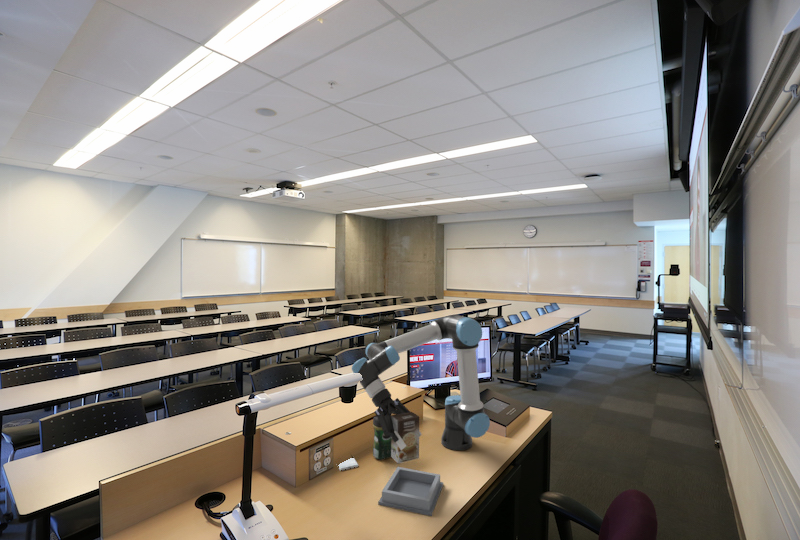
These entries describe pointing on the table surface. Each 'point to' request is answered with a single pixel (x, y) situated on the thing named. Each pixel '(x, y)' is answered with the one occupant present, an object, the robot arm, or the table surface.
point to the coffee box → (406, 437)
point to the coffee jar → (381, 441)
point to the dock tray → (412, 491)
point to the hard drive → (348, 464)
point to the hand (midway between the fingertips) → (411, 442)
